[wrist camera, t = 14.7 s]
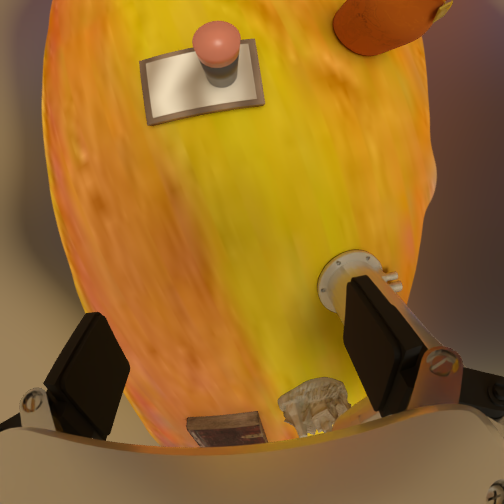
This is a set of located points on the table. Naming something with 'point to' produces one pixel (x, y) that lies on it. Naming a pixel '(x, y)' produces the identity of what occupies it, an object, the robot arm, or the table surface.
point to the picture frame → (197, 85)
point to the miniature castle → (314, 405)
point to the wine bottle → (385, 23)
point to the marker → (218, 52)
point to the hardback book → (227, 430)
